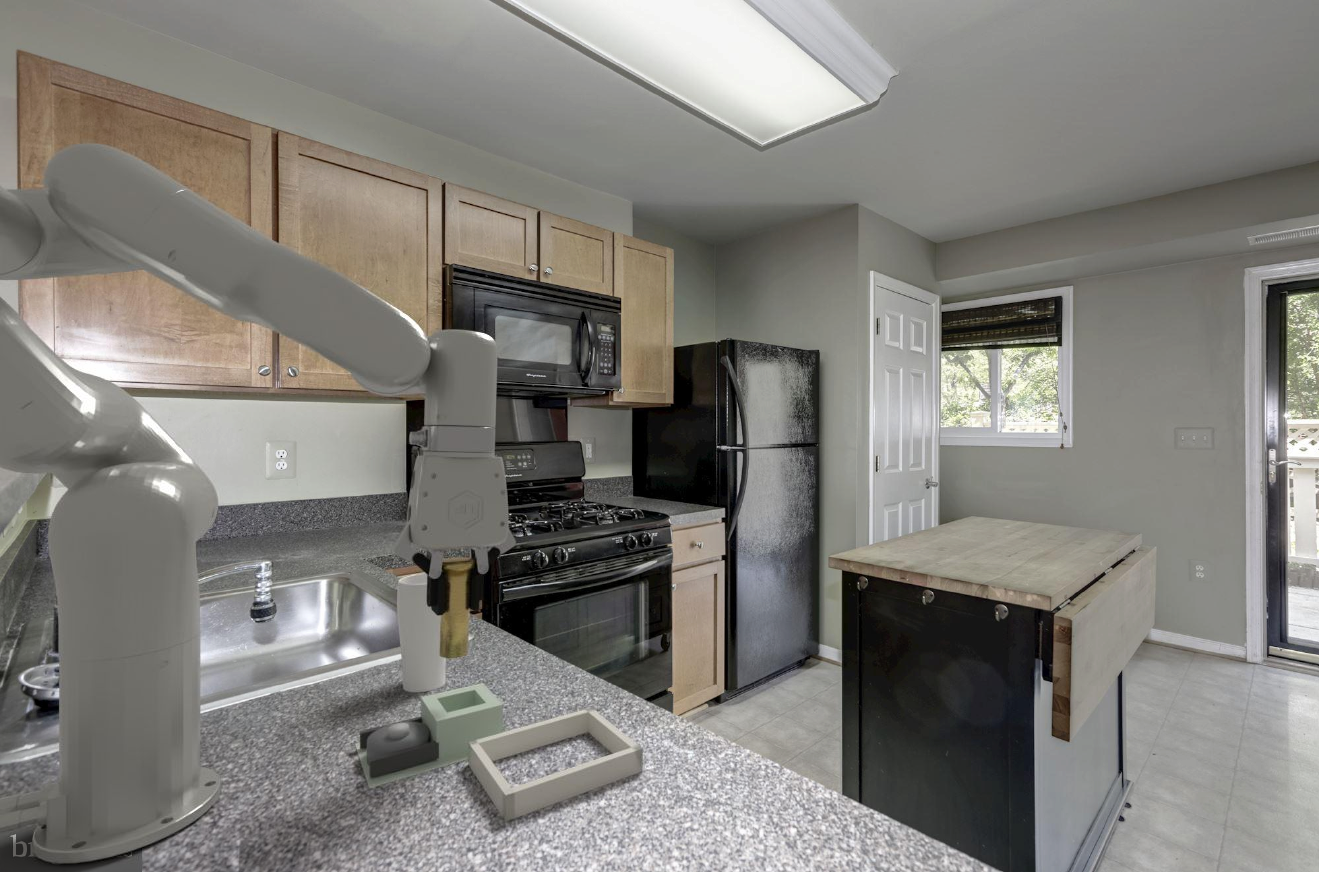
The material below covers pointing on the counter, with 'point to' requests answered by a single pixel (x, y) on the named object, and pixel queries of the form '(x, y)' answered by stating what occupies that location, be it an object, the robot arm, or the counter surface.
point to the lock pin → (456, 607)
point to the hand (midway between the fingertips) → (455, 608)
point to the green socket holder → (430, 735)
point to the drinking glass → (419, 637)
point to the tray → (561, 783)
